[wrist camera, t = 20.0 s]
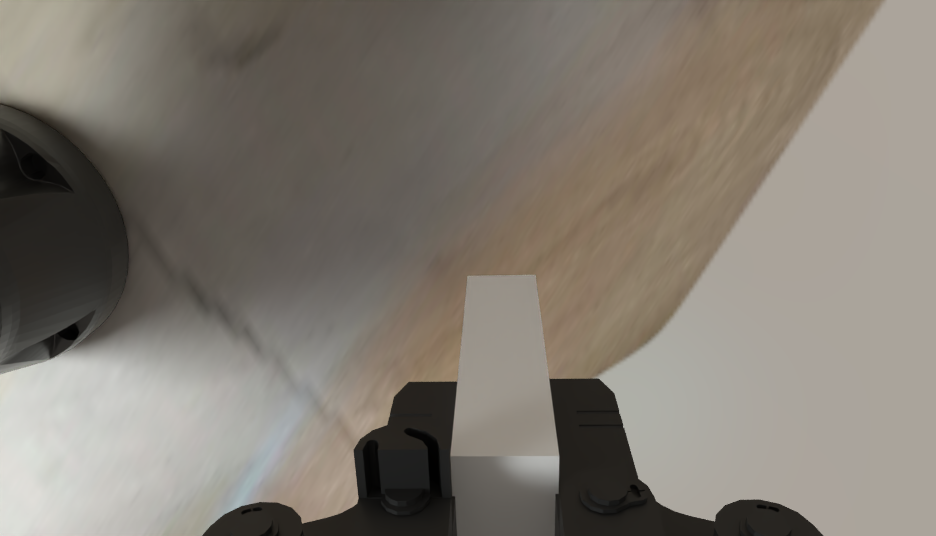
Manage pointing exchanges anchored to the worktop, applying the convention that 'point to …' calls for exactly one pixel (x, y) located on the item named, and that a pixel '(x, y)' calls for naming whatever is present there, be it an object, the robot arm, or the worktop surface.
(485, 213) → the worktop surface
